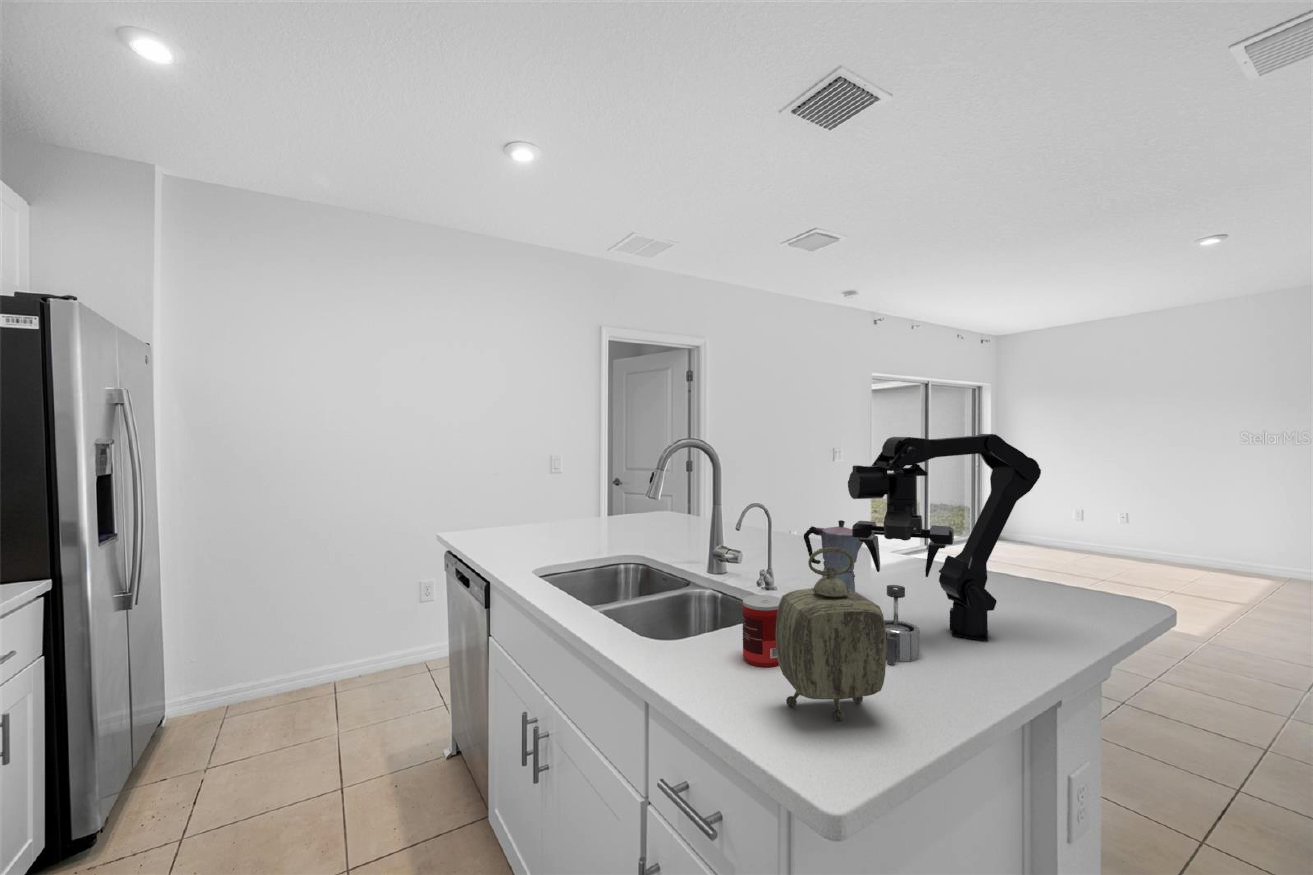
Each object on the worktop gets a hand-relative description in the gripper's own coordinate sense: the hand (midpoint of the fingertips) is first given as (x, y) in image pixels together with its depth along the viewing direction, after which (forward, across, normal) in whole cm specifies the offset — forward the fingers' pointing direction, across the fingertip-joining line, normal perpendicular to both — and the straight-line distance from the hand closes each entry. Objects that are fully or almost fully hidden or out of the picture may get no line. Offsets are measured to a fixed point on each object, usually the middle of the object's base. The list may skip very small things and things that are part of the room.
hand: (902, 574), depth 119 cm
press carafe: (+13, 0, -11) cm, 17 cm away
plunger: (+9, 0, -10) cm, 13 cm away
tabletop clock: (+13, -5, -40) cm, 42 cm away
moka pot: (+13, -18, +20) cm, 30 cm away
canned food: (+13, -21, -25) cm, 35 cm away
